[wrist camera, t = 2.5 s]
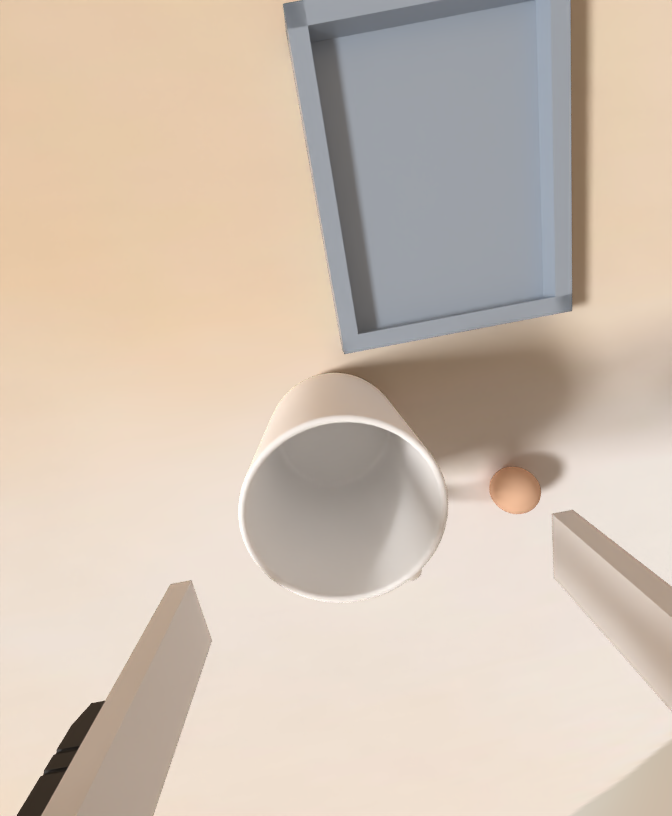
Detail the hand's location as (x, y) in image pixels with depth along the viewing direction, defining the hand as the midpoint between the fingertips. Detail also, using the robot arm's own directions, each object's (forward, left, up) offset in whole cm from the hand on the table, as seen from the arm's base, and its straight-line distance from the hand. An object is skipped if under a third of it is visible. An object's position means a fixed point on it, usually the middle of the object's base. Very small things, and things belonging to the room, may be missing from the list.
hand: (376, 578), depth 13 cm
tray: (-15, +8, -13) cm, 21 cm away
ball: (+5, +11, -13) cm, 17 cm away
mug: (0, 0, -13) cm, 13 cm away
